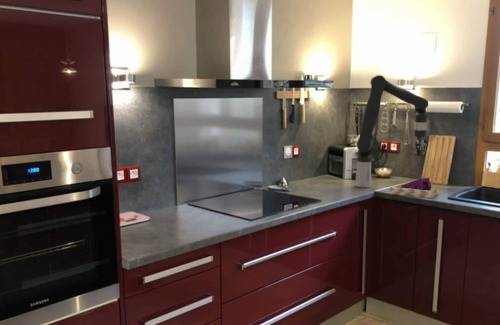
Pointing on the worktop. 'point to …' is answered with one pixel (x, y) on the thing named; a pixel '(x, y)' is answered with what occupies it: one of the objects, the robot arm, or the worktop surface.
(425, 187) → the purple wedge
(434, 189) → the beige tray
